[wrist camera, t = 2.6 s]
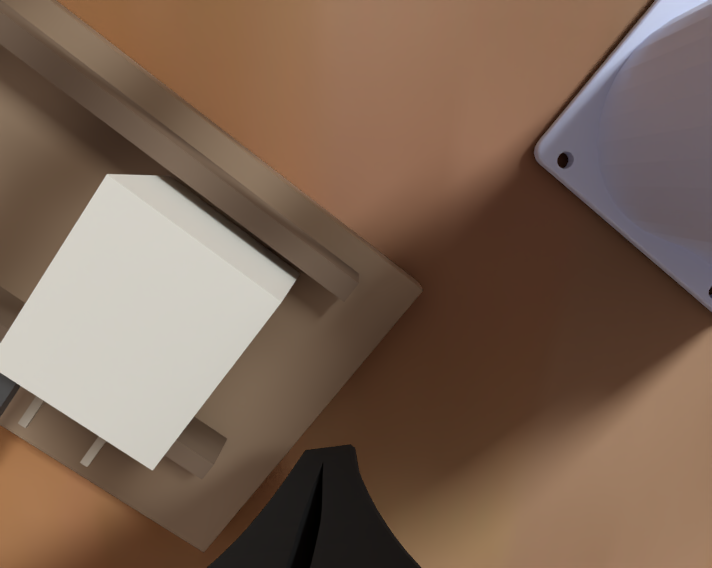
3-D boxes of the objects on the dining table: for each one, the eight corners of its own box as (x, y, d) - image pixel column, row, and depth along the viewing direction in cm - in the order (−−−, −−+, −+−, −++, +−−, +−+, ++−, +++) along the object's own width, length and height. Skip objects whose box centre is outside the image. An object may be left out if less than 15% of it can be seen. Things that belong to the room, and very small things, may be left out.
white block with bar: (300, 273, 14) (281, 301, 11) (131, 493, 16) (71, 576, 13) (169, 176, 14) (106, 174, 10) (9, 416, 16) (-88, 482, 12)
